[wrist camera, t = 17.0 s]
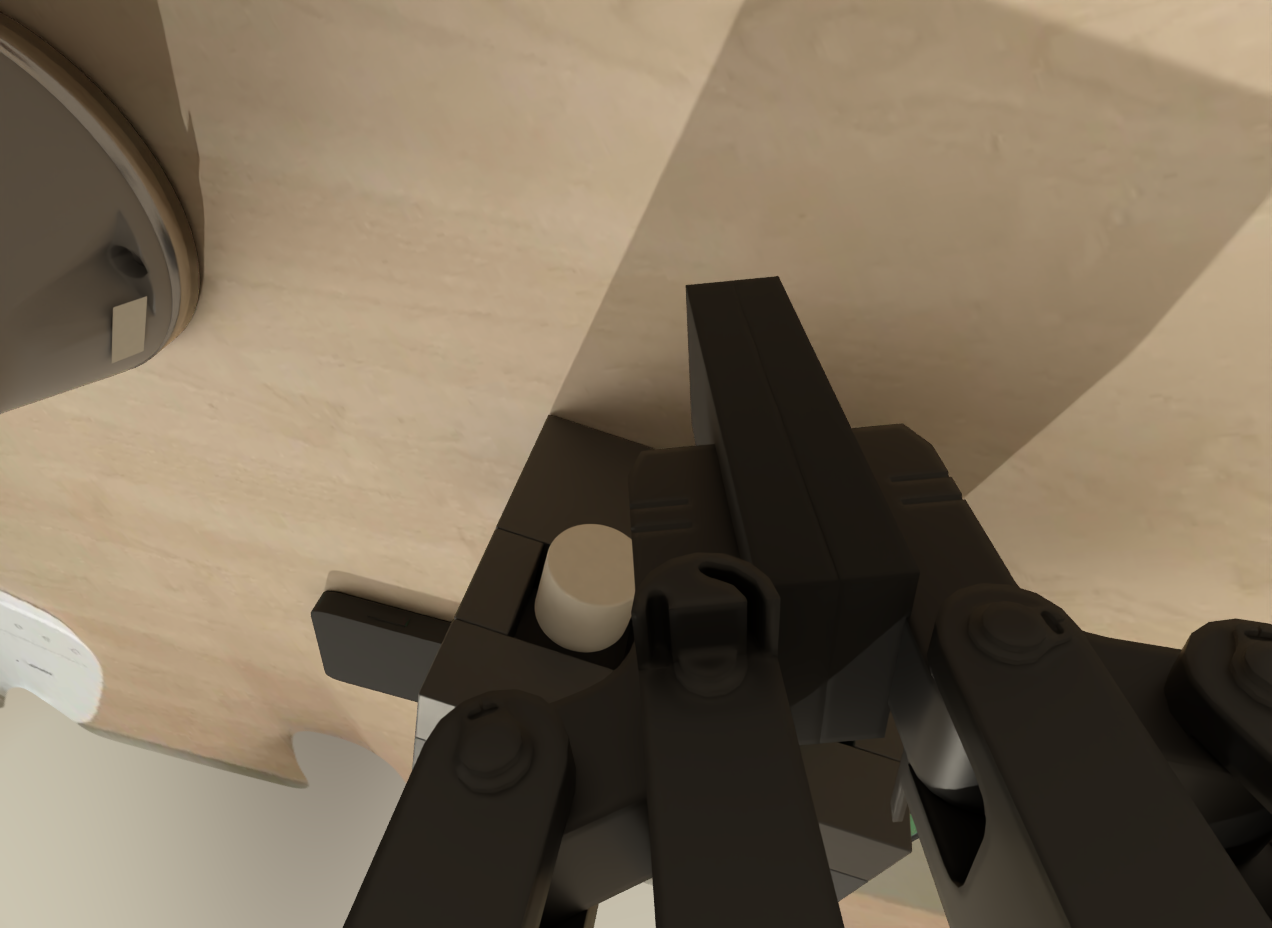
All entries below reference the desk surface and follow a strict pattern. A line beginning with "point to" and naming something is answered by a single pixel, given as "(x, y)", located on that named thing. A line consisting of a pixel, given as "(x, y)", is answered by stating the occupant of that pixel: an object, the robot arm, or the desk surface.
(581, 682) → the dock
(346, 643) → the smart home device
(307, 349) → the desk surface
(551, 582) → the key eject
